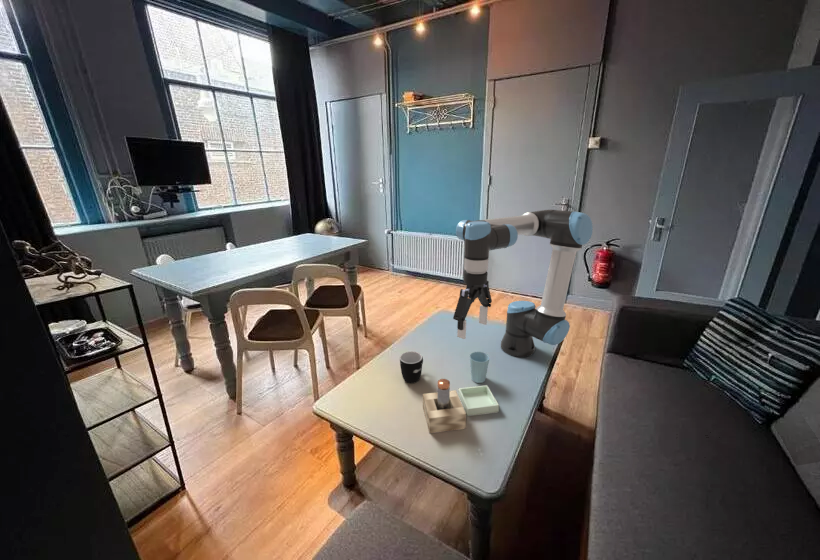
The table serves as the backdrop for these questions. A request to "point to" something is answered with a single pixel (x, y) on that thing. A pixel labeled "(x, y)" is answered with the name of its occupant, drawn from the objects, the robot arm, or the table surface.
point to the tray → (478, 400)
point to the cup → (479, 366)
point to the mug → (411, 366)
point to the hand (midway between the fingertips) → (472, 330)
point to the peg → (443, 394)
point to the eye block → (444, 413)
